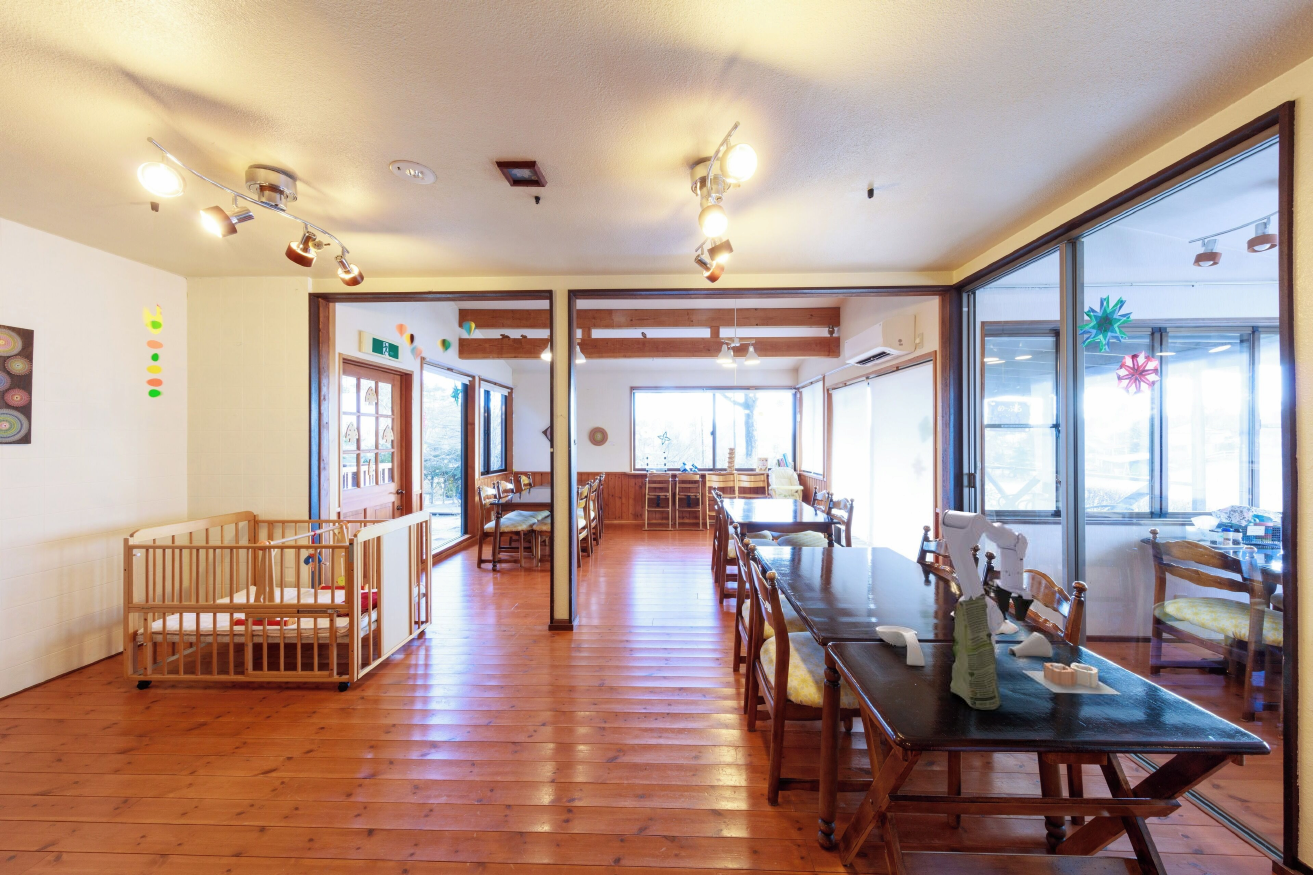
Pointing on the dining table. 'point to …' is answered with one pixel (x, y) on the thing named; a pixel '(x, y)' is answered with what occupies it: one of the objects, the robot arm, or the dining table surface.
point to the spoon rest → (903, 642)
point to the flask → (1033, 647)
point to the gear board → (1076, 688)
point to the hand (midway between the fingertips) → (1012, 616)
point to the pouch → (974, 655)
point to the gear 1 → (1059, 675)
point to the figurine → (1006, 626)
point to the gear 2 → (1085, 675)
